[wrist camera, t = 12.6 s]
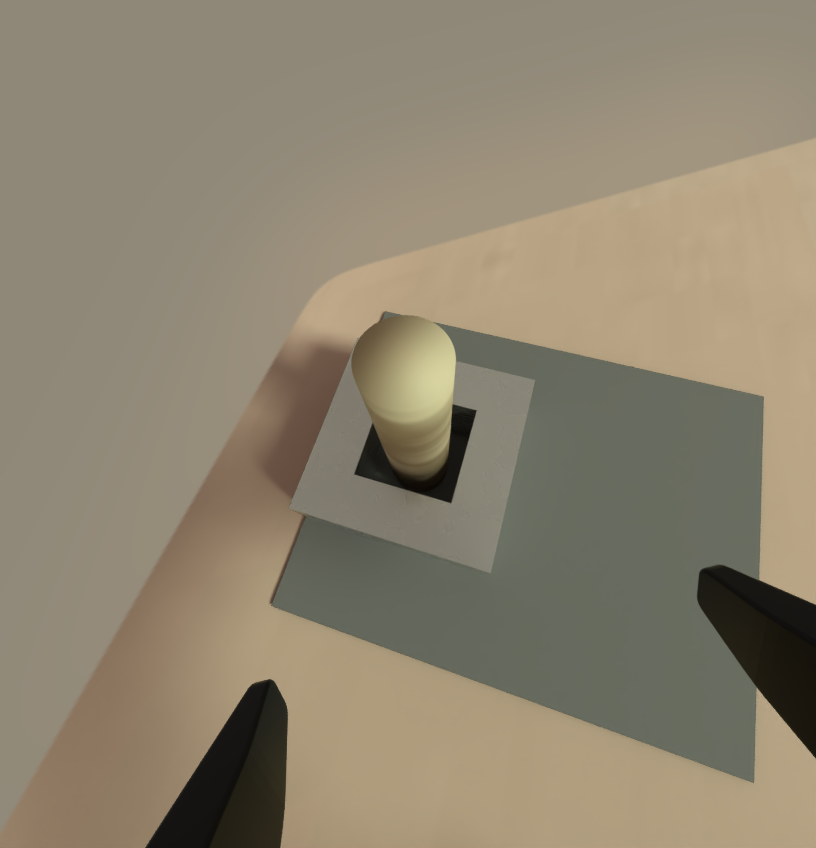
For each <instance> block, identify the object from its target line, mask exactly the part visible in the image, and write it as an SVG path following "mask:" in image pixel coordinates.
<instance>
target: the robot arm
mask: <svg viewBox="0 0 816 848" xmlns="http://www.w3.org/2000/svg"><path fill="white" fill-rule="evenodd" d="M697 600H698V604H699V606H700V608H701V609H702V611H703V612H704V614H705V615H706V617H707V618H708V620H709V621H710V622H711V624H712V625H713V627H714V628H715V630H716V631H717V632H718V634H719V635H720V637H721V638H722V640H723V641H724V642H725V644H726V645H727V647H728V648H729V650H730V651H731V652H732V654H733V655H734V657H735V658H736V660H737V661H738V662H739V664H740V665H741V667H742V668H743V670H744V671H745V672H746V674H747V675H748V676H749V678H750V679H751V681H752V682H753V683H754V685H755V686H756V687H757V688H758V690H759V691H760V692H761V693H762V694H763V696H764V697H765V698H766V699H767V701H768V702H769V703H770V704H771V705H772V707H773V708H774V709H775V710H776V711H777V713H778V714H779V715H780V716H781V717H782V719H783V720H784V721H785V722H786V723H787V725H788V726H789V727H790V728H791V729H792V731H793V732H794V733H795V734H796V735H797V737H798V738H799V739H800V740H801V741H802V743H803V744H804V745H805V746H806V747H807V749H808V750H809V751H810V752H811V753H812V755H813V756H814V757H815V758H816V605H815V604H813V603H810V602H808V601H806V600H804V599H801V598H799V597H797V596H794V595H792V594H790V593H787V592H785V591H783V590H781V589H778V588H776V587H774V586H771V585H769V584H767V583H764V582H762V581H760V580H758V579H755V578H753V577H751V576H748V575H746V574H744V573H741V572H739V571H737V570H734V569H732V568H730V567H728V566H725V565H713V566H710V567H706V568H703V569H701V570H700V572H699V578H698V588H697ZM287 726H288V711H287V706H286V703H285V701H284V699H283V697H282V695H281V693H280V691H279V689H278V687H277V686H276V684H275V682H274V681H273V680H271V679H268V680H264V681H260V682H256V683H254V684H252V685H251V686H250V687H249V688H248V690H247V691H246V693H245V694H244V696H243V697H242V699H241V700H240V702H239V704H238V705H237V707H236V708H235V710H234V711H233V713H232V714H231V716H230V717H229V719H228V721H227V722H226V724H225V725H224V727H223V728H222V730H221V731H220V733H219V735H218V736H217V738H216V739H215V741H214V742H213V744H212V745H211V747H210V748H209V750H208V752H207V753H206V755H205V756H204V758H203V759H202V761H201V762H200V764H199V765H198V767H197V769H196V770H195V772H194V773H193V775H192V776H191V778H190V779H189V781H188V782H187V784H186V786H185V787H184V789H183V790H182V792H181V793H180V795H179V796H178V798H177V799H176V801H175V803H174V804H173V806H172V807H171V809H170V810H169V812H168V813H167V815H166V816H165V818H164V820H163V821H162V823H161V824H160V826H159V827H158V829H157V830H156V832H155V833H154V835H153V837H152V838H151V840H150V841H149V843H148V844H147V846H146V847H145V848H280V846H281V838H282V829H283V820H284V810H285V793H286V760H287Z"/></svg>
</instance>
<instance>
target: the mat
mask: <svg viewBox="0 0 816 848" xmlns="http://www.w3.org/2000/svg"><path fill="white" fill-rule="evenodd" d="M395 316H403V315H399V314H395V313H390V312H386V311H385V314H384V317H383V319H382V320H384V319H387V318H391V317H395ZM433 323H435V322H433ZM435 324H436V325H438V326H439V327H440V328H442V329H443V330H444V331H445V332H446V334H447V335H448V336H449V338H450V340H451V341H452V344H453V346H454V349H455V354H456V361H458V362H462V363H466V364H470V365H474V366H479V367H483V368H487V369H491V370H495V371H500V372H504V373H508V374H512V375H516V376H520V377H525V378H529V379H533V380H535V383H534V387H533V392H532V396H531V400H530V405H529V409H528V413H527V418H526V422H525V426H524V431H523V435H522V440H521V444H520V448H519V453H518V457H517V461H516V466H515V470H514V474H513V479H512V483H511V487H510V492H509V496H508V500H507V505H506V509H505V513H504V518H503V522H502V526H501V531H500V535H499V539H498V544H497V548H496V552H495V557H494V561H493V565H492V570H491V573H488V574H478V573H475V572H472V571H469V570H466V569H462V568H459V567H456V566H453V565H450V564H447V563H444V562H441V561H438V560H435V559H431V558H428V557H425V556H422V555H419V554H416V553H413V552H410V551H407V550H404V549H401V548H397V547H394V546H391V545H388V544H385V543H382V542H379V541H376V540H373V539H370V538H366V537H363V536H360V535H357V534H354V533H351V532H348V531H345V530H342V529H339V528H336V527H332V526H329V525H326V524H323V523H320V522H317V521H314V520H312V519H310V518H308V517H306V518H305V520H304V523H303V525H302V528H301V530H300V533H299V536H298V538H297V541H296V543H295V546H294V548H293V551H292V554H291V556H290V559H289V561H288V564H287V566H286V569H285V572H284V574H283V577H282V579H281V582H280V584H279V587H278V590H277V592H276V595H275V597H274V600H273V603H272V605H271V606H273V607H276V608H278V609H281V610H284V611H287V612H289V613H292V614H295V615H297V616H300V617H303V618H306V619H308V620H311V621H314V622H317V623H319V624H322V625H325V626H327V627H330V628H333V629H336V630H338V631H341V632H344V633H346V634H349V635H352V636H355V637H357V638H360V639H363V640H366V641H368V642H371V643H374V644H376V645H379V646H382V647H385V648H387V649H390V650H393V651H396V652H398V653H401V654H404V655H406V656H409V657H412V658H415V659H417V660H420V661H423V662H426V663H428V664H431V665H434V666H436V667H439V668H442V669H445V670H447V671H450V672H453V673H456V674H458V675H461V676H464V677H466V678H469V679H472V680H475V681H477V682H480V683H483V684H485V685H488V686H491V687H494V688H496V689H499V690H502V691H505V692H507V693H510V694H513V695H515V696H518V697H521V698H524V699H526V700H529V701H532V702H535V703H537V704H540V705H543V706H545V707H548V708H551V709H554V710H556V711H559V712H562V713H565V714H567V715H570V716H573V717H575V718H578V719H581V720H584V721H586V722H589V723H592V724H595V725H597V726H600V727H603V728H605V729H608V730H611V731H614V732H616V733H619V734H622V735H624V736H627V737H630V738H633V739H635V740H638V741H641V742H644V743H646V744H649V745H652V746H654V747H657V748H660V749H663V750H665V751H668V752H671V753H674V754H676V755H679V756H682V757H684V758H687V759H690V760H693V761H695V762H698V763H701V764H704V765H706V766H709V767H712V768H714V769H717V770H720V771H723V772H725V773H728V774H731V775H734V776H736V777H739V778H742V779H744V780H747V781H750V782H753V783H754V761H755V722H756V686H755V685H754V683H753V682H752V681H751V679H750V678H749V676H748V675H747V674H746V672H745V671H744V670H743V668H742V667H741V665H740V664H739V662H738V661H737V660H736V658H735V657H734V655H733V654H732V652H731V651H730V650H729V648H728V647H727V645H726V644H725V642H724V641H723V640H722V638H721V637H720V635H719V634H718V632H717V631H716V630H715V628H714V627H713V625H712V624H711V622H710V621H709V620H708V618H707V617H706V615H705V614H704V612H703V611H702V609H701V608H700V606H699V604H698V600H697V588H698V578H699V572H700V570H701V569H703V568H706V567H710V566H713V565H725V566H728V567H730V568H732V569H734V570H737V571H739V572H741V573H744V574H746V575H748V576H751V577H753V578H755V579H758V580H759V563H760V524H761V484H762V444H763V405H764V397H763V396H758V395H754V394H750V393H745V392H741V391H736V390H732V389H727V388H723V387H718V386H714V385H710V384H705V383H701V382H696V381H692V380H687V379H683V378H679V377H674V376H670V375H665V374H661V373H656V372H652V371H647V370H643V369H639V368H634V367H630V366H625V365H621V364H616V363H612V362H608V361H603V360H599V359H594V358H590V357H585V356H581V355H576V354H572V353H568V352H563V351H559V350H554V349H550V348H545V347H541V346H537V345H532V344H528V343H523V342H519V341H514V340H510V339H505V338H501V337H497V336H492V335H488V334H483V333H479V332H474V331H470V330H466V329H461V328H457V327H452V326H448V325H443V324H439V323H435ZM468 441H469V438H468V437H465V436H461V435H457V434H454V433H450V443H449V456H448V469H447V473H446V476H445V478H444V479H443V481H442V482H441V483H440V484H439V485H438V486H437V487H435V488H434V489H431V490H429V491H425V492H415V491H411V490H409V489H407V488H405V487H404V486H402V485H401V484H400V483H399V482H398V480H397V479H396V477H395V475H394V472H393V470H392V467H391V465H390V463H389V460H388V458H387V456H386V453H385V451H384V448H383V450H382V452H381V455H380V458H379V461H378V464H377V467H376V470H375V473H374V476H373V479H372V480H374V481H378V482H381V483H384V484H388V485H391V486H394V487H398V488H401V489H405V490H408V491H411V492H415V493H418V494H421V495H425V496H428V497H431V498H435V499H438V500H441V501H445V502H448V503H452V499H453V496H454V492H455V488H456V485H457V481H458V477H459V474H460V470H461V467H462V463H463V459H464V456H465V452H466V448H467V445H468Z"/></svg>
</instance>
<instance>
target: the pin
mask: <svg viewBox="0 0 816 848" xmlns="http://www.w3.org/2000/svg"><path fill="white" fill-rule="evenodd" d="M455 365H456V354H455V349H454V346H453V344H452V341H451V340H450V338H449V336H448V335H447V334H446V332H445V331H444V330H443V329H442V328H440V327H439V326H438V325H436V324H435V323H433V322H431V321H429V320H427V319H425V318H421V317H417V316H407V315H404V316H395V317H391V318H387V319H384V320H382V321H380V322H378V323H376V324H374V325H373V326H372V327H370V328H369V329H368V330H367V331H366V332H364V334H363V335H362V336H361V337H360V339H359V340H358V342H357V343H356V346H355V348H354V351H353V354H352V359H351V367H352V373H353V377H354V379H355V382H356V384H357V387H358V389H359V391H360V394H361V396H362V398H363V401H364V403H365V406H366V408H367V410H368V413H369V415H370V417H371V420H372V422H373V425H374V427H375V429H376V432H377V434H378V437H379V439H380V441H381V444H382V446H383V448H384V451H385V453H386V456H387V458H388V460H389V463H390V465H391V467H392V470H393V472H394V475H395V477H396V479H397V480H398V482H399V483H400V484H401V485H402V486H404V487H405V488H407V489H409V490H411V491H415V492H425V491H429V490H431V489H434V488H435V487H437V486H438V485H439V484H440V483H441V482H442V481H443V479H444V478H445V476H446V473H447V469H448V456H449V443H450V430H451V417H452V404H453V391H454V378H455Z"/></svg>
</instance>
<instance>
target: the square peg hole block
mask: <svg viewBox="0 0 816 848" xmlns="http://www.w3.org/2000/svg"><path fill="white" fill-rule="evenodd" d="M359 339H360V338H357V341H356V343H357V342H358V340H359ZM356 343H355V346H356ZM355 346H354V348H355ZM354 348H353V351H354ZM353 351H352V353H351V356H350V358H349V361H348V363H347V365H346V368H345V370H344V373H343V375H342V378H341V380H340V383H339V385H338V388H337V390H336V393H335V395H334V398H333V400H332V403H331V405H330V407H329V410H328V412H327V415H326V417H325V420H324V422H323V425H322V427H321V430H320V432H319V435H318V437H317V440H316V442H315V445H314V447H313V449H312V452H311V454H310V457H309V459H308V462H307V464H306V467H305V469H304V472H303V474H302V477H301V479H300V482H299V484H298V487H297V489H296V491H295V494H294V496H293V499H292V501H291V504H290V506H289V509H291V510H293V511H295V512H297V513H299V514H302V515H304V516H306V517H308V518H310V519H312V520H314V521H317V522H320V523H323V524H326V525H329V526H332V527H336V528H339V529H342V530H345V531H348V532H351V533H354V534H357V535H360V536H363V537H366V538H370V539H373V540H376V541H379V542H382V543H385V544H388V545H391V546H394V547H397V548H401V549H404V550H407V551H410V552H413V553H416V554H419V555H422V556H425V557H428V558H431V559H435V560H438V561H441V562H444V563H447V564H450V565H453V566H456V567H459V568H462V569H466V570H469V571H472V572H475V573H478V574H488V573H491V570H492V565H493V561H494V557H495V552H496V548H497V544H498V539H499V535H500V531H501V526H502V522H503V518H504V513H505V509H506V505H507V500H508V496H509V492H510V487H511V483H512V479H513V474H514V470H515V466H516V461H517V457H518V453H519V448H520V444H521V440H522V435H523V431H524V426H525V422H526V418H527V413H528V409H529V405H530V400H531V396H532V392H533V387H534V383H535V380H533V379H529V378H525V377H520V376H516V375H512V374H508V373H504V372H500V371H495V370H491V369H487V368H483V367H479V366H474V365H470V364H466V363H462V362H458V361H456V365H455V378H454V391H453V404H452V417H451V430H450V433H454V434H457V435H461V436H465V437H468V438H469V441H468V445H467V448H466V452H465V456H464V459H463V463H462V467H461V470H460V474H459V477H458V481H457V485H456V488H455V492H454V496H453V499H452V503H448V502H445V501H441V500H438V499H435V498H431V497H428V496H425V495H421V494H418V493H415V492H411V491H408V490H405V489H401V488H398V487H394V486H391V485H388V484H384V483H381V482H378V481H374V480H372V479H373V476H374V473H375V470H376V467H377V464H378V461H379V458H380V455H381V452H382V450H383V446H382V444H381V441H380V439H379V437H378V434H377V432H376V429H375V427H374V425H373V422H372V420H371V417H370V415H369V413H368V410H367V408H366V406H365V403H364V401H363V398H362V396H361V394H360V391H359V389H358V387H357V384H356V382H355V379H354V377H353V373H352V367H351V359H352V354H353Z"/></svg>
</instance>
